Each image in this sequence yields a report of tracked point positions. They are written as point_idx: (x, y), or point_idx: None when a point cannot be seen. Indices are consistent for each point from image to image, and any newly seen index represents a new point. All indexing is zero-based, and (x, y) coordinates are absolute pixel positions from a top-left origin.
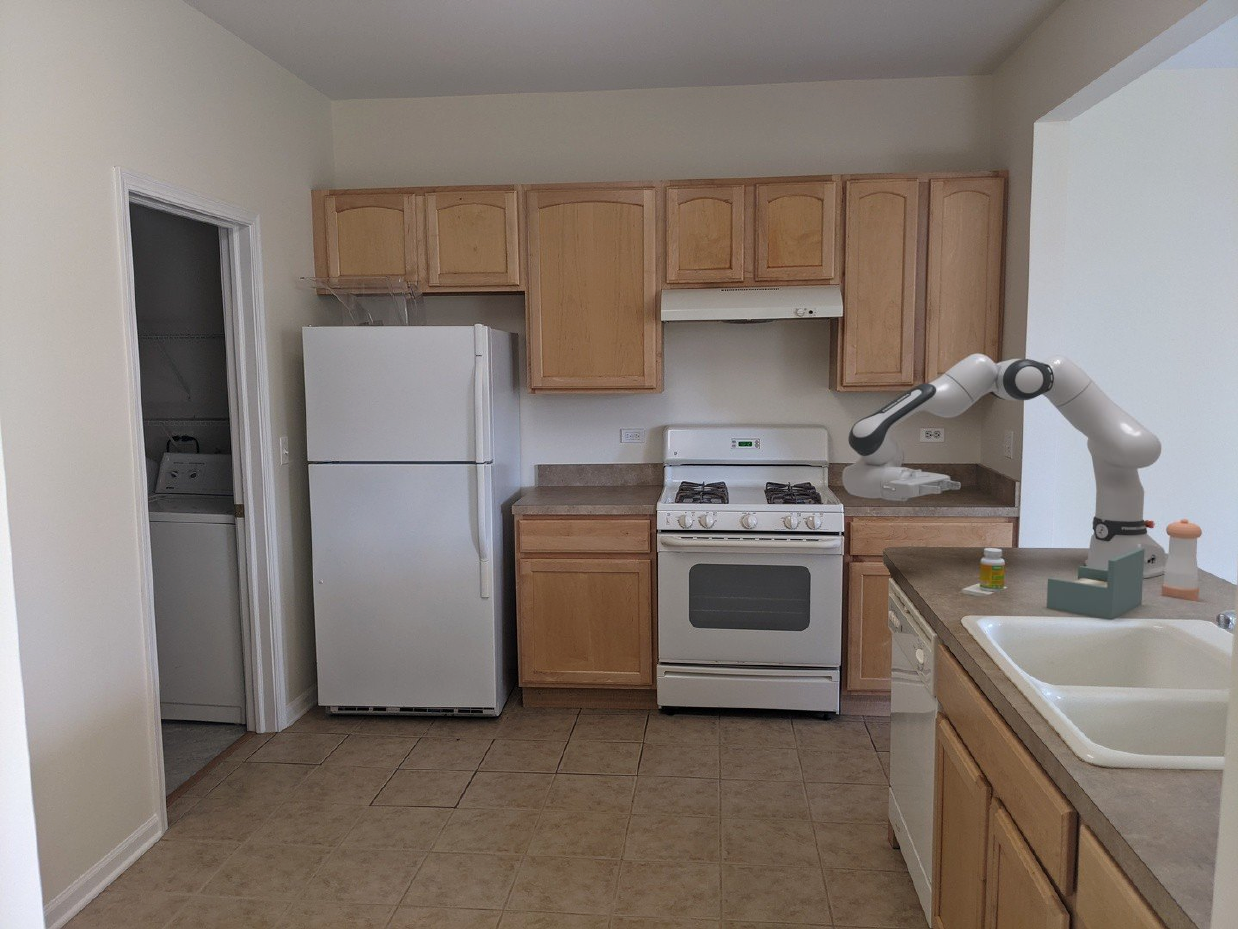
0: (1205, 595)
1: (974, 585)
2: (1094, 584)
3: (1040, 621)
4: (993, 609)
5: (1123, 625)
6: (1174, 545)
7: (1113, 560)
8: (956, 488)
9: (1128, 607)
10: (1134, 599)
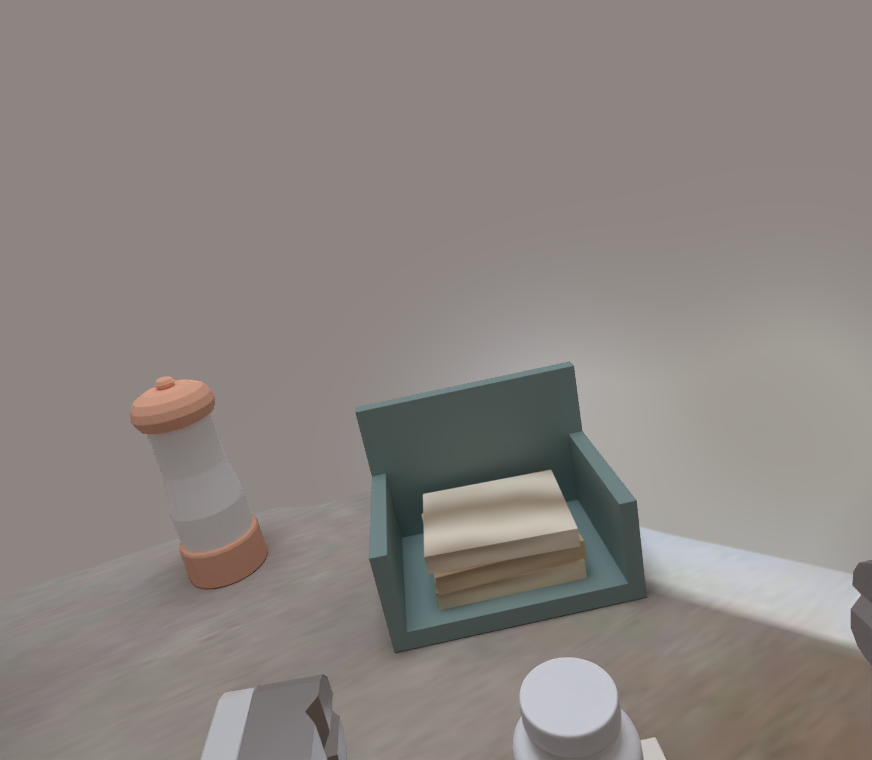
0: (136, 569)
1: None
2: (477, 512)
3: (723, 566)
4: (790, 692)
5: None
6: (209, 438)
7: (566, 363)
8: (343, 750)
9: None
10: None
